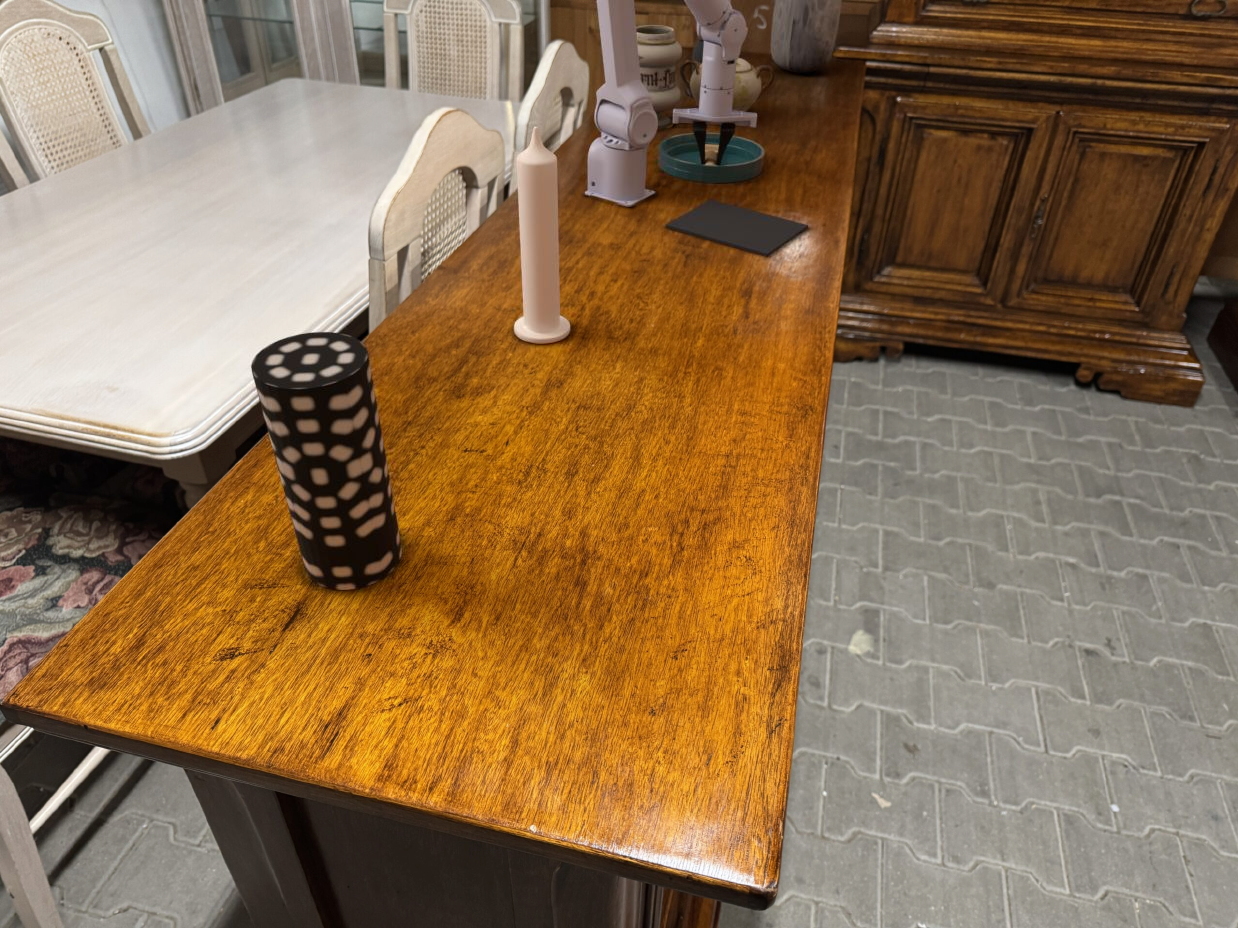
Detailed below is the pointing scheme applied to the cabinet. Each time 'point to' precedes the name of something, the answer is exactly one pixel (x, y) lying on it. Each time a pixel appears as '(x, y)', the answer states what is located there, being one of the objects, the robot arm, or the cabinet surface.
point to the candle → (539, 245)
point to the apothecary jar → (659, 68)
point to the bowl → (710, 165)
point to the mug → (697, 55)
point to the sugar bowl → (744, 86)
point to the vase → (804, 33)
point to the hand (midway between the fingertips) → (710, 165)
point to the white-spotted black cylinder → (330, 456)
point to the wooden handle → (711, 154)
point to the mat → (738, 227)
